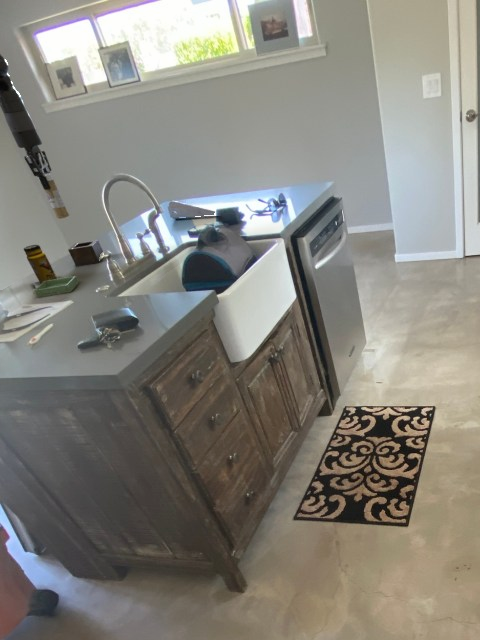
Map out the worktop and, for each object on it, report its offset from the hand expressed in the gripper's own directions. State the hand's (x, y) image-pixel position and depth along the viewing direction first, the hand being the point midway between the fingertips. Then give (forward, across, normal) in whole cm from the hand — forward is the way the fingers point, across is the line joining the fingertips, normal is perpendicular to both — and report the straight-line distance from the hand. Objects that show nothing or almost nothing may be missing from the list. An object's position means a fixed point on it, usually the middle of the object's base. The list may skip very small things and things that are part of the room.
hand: (50, 187), depth 183 cm
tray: (+26, +29, -2) cm, 39 cm away
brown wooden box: (+26, -5, +1) cm, 26 cm away
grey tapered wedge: (+26, -56, +39) cm, 73 cm away
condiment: (+26, +17, -9) cm, 33 cm away
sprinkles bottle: (+10, 0, 0) cm, 10 cm away
